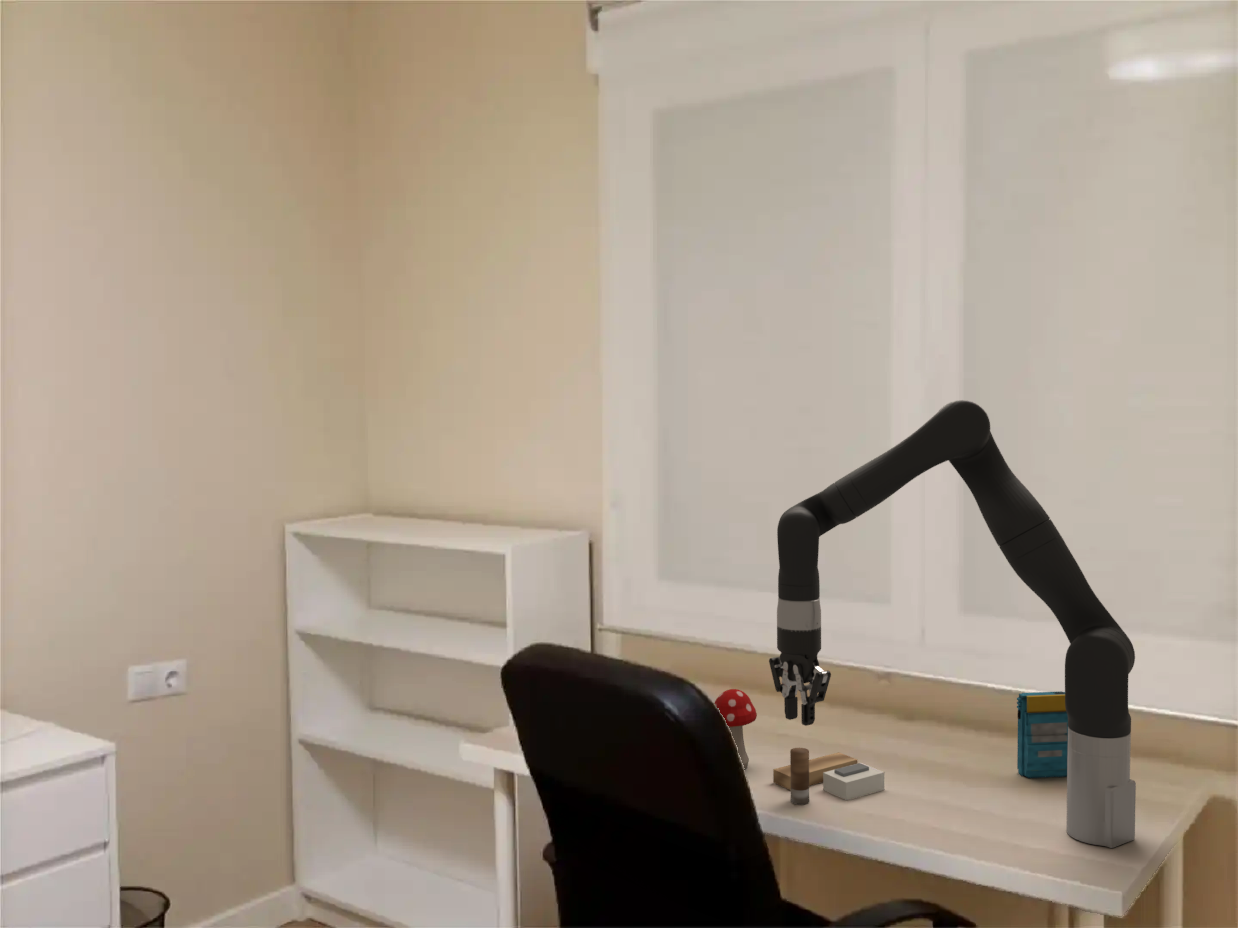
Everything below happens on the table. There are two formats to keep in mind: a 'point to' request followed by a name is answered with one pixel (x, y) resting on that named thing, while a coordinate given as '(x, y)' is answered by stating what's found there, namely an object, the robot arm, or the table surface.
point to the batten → (814, 769)
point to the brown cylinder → (799, 775)
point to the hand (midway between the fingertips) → (799, 721)
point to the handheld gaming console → (1042, 735)
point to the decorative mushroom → (737, 716)
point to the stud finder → (853, 781)
